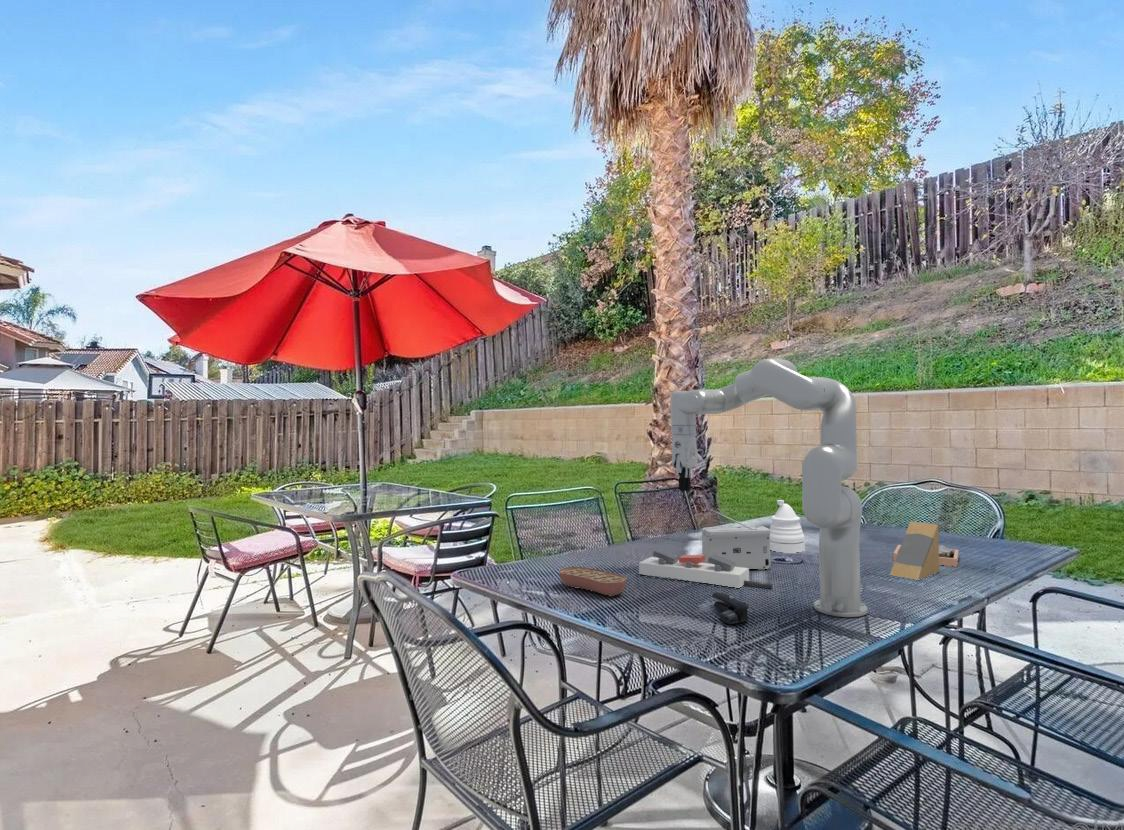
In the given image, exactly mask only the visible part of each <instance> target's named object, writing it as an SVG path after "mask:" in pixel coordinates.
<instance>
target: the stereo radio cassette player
mask: <svg viewBox="0 0 1124 830" xmlns="http://www.w3.org/2000/svg"><path fill="white" fill-rule="evenodd" d="M710 511H711V512H714V513H716V514H718V515H721V516H722V517H724V518H726V519H728V520H730V521H732V522H734V523H737V524H739V525H740V526H714V527H703V528H702V529H701V550H702V551H701V552H702V553H701V555H705V559H706V560H705V561H703V562H702V563H708V564H711V563H709V562H708V559H709V557H710V556H712V555H713V554H714V555H717V556H719V557H722V558H725V559H727V560H730V561H732V562H735V567H742V568H749V569H758V570H765V569H767V570H769V568H770V567H771V551H770V533H771V532H770V528H768V527H765V526H764V525H757V526H756V525H752V526H751V525H749V526H748V525H746V524H743V523H742V522H740V521H738V520H735V519H733V518H731V517H728V516H727V515H724V514H722V513H720V512H718V511H715V510H714V509H712V508H711V509H710Z"/></svg>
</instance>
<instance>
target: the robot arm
mask: <svg viewBox="0 0 1124 830" xmlns="http://www.w3.org/2000/svg"><path fill="white" fill-rule="evenodd" d="M798 371H799V370H798V369H797V367H796V365H795V364H794V363H793V362H791V361H790V360H787V359H781V358H764V359H761V360H759V361H758V362H757V363H755V364H754V365H753V366H752V368H751V369H749V370H747V371H743V372H740V373H738V374H737V375H736V376H735V378H734V382H733V383H730V384H729V385H725V386H722V387H719V388H716V389H715V388H714V389H709V388H708V389H707V388H705V389H694V390H677V391H676V390H675V391H673V392H671V393H670V397H669V398H670V399H669V400H670V433H671V434H670V436H671V437H672V443H671V462H672V464H671V465H672V467H673V468H674V469H675V473H677V477H678V491H682V492H688V491H691V488H692V487H691V483H692V482H691V476H692V470H693V469H694V468H695V467H697V466H698V464H699V461H698V460H699V459H698V445H697V439H696V436H697V429H696V426H697V425H696V424H697V421H696V420H697V419H696V416H697V415H699V416H700V415H701V416H703V415H717V414H719V415H720V414H722V413H725V412H728V411H732V410H736V409H738V408H740V407H742V406H744V405H747V404H749V403H750V402H753V401H756V400H760V399H763V398H766V397H769V396H770V397H772V398H773V399H776V400H778V401H779V402H782V403H783V404H785V405H787V406H789V407H791V408H794V409H795V410H800V411H818V410H820V411H821V412H822V418H821V420H820V421H821V422H820V427H819V429H820V430H819V433H820V438H819V439H820V441H819V442H820V443H819V445H818V446H815V447H814V448H811V449H810V450H809V451H808V452H807V453H806V455H805V457H804V458H803V461H802V468H801V469H802V470H801V471H802V473H801V474H802V475H801V477H802V479H801V481H802V482H801V483H802V485H801V486H802V487H801V488H802V492H801V493H802V494H801V497H802V502H801V503H802V511H803V514H804V517H805V519H806V520H807V521H808V522H809V524H810V525H812V526H813V527H815V528H818V529H819V533H818V534H819V535H818V537H819V538H818V557H819V559H818V560H819V562H818V563H819V565H818V566H819V599H816V600H815V601H814V602H813V608H814V609H815V611H817V612H819V613H821V614H825V615H827V616H832V617H841V618H858V617H863V616H865V615H867V614H868V612H869V611H868V607H867V606H866V605H865V604H864V603H862V602H861V558H860V556H861V555H860V551H861V550H860V549H861V546H860V545H861V543H860V540H861V539H860V537H861V535H860V533H861V523H862V515H863V505H862V501H861V498H860V496H859V494H858V493H857V492H856V491H855V490H854V489H852V488H850V487H848V486H845V485H842V481H846V480H849V479H851V478H852V477H853V476H854V475H855V473H856V472H857V467H858V450H857V449H858V448H857V447H858V437H857V403H856V399H855V396H854V395H853V393H852V391H851V390H850V389H849V388H848V387H847V386H846V385H844V384H843V383H841V381H838V380H836V379H832V378H828V377H824V376H820V377H819V376H805V375H803V374H800V373H799V372H798Z"/></svg>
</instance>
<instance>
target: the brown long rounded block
mask: <svg viewBox="0 0 1124 830" xmlns="http://www.w3.org/2000/svg"><path fill="white" fill-rule="evenodd" d="M558 571H559V572H558V573H559V578H560V581H562V583H563V585H565V586H567V585H569V586H574V587H579V588H583V589H588V590H592V591H595V592H594V593H596V592H598V593H597V594H599V593H601V594H600V595H602V594H604V595H603V596H605V595H616V596H618V595H619V594H621V593H622V592H623V591H624V589H625V587H626V585H627V577H626V576H624V575H622V574H618V573H614V572H611V571H606V570H602V569H597V568H592V567H591V568H589V567H583V566H569V567H568V566H567V567H562V568H561V569H559V570H558ZM569 586H568V587H569ZM583 589H582V590H583ZM588 590H587V591H588ZM592 591H591V592H592Z"/></svg>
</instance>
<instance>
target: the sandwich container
mask: <svg viewBox="0 0 1124 830" xmlns="http://www.w3.org/2000/svg"><path fill="white" fill-rule="evenodd" d="M939 529H940V528H939V524H936V523H935V524H934V523H929V522H922V521H921V522H920V521H919V522H918V521H914V520H913V521H911V520H910V522H909V523H908V526H907V529H906V532H905V535H904V537H903V540H902V542H901V544H900V545H901V548H900V550H899V553H898V555H897V558H896V560H895V561H894V563H893V565H892V568H891V570H890V573H889V575H893V576H899V577H905V578H910V579H915V580H918V579H921V578H924V577H927V576H929V575H931V574H934V573H936V574H938V573H939V567H940V565H939V546H940V545H939V544H940V540H939V539H940V538H939V537H940V531H939ZM937 572H938V573H937ZM934 575H935V574H934ZM929 577H930V576H929ZM927 578H928V577H927ZM924 579H925V578H924ZM921 580H922V579H921Z"/></svg>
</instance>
